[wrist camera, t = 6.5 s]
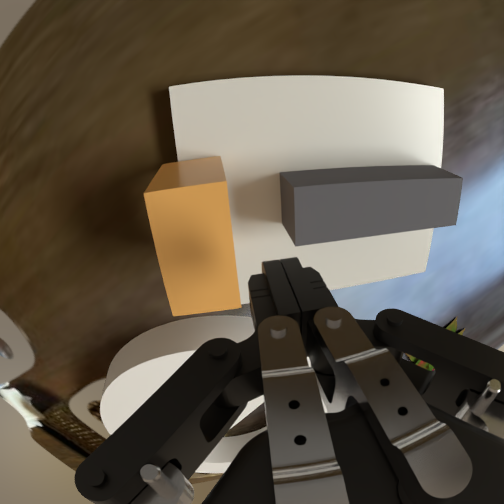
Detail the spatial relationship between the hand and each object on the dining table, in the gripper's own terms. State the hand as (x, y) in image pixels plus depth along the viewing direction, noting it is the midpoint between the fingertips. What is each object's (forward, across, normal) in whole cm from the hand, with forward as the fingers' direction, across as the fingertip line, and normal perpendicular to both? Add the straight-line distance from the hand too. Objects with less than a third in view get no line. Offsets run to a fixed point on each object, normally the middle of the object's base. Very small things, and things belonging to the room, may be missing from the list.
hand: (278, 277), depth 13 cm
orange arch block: (+10, +4, 0) cm, 11 cm away
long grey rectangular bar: (+11, -9, 0) cm, 14 cm away
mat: (+12, -6, 0) cm, 14 cm away
